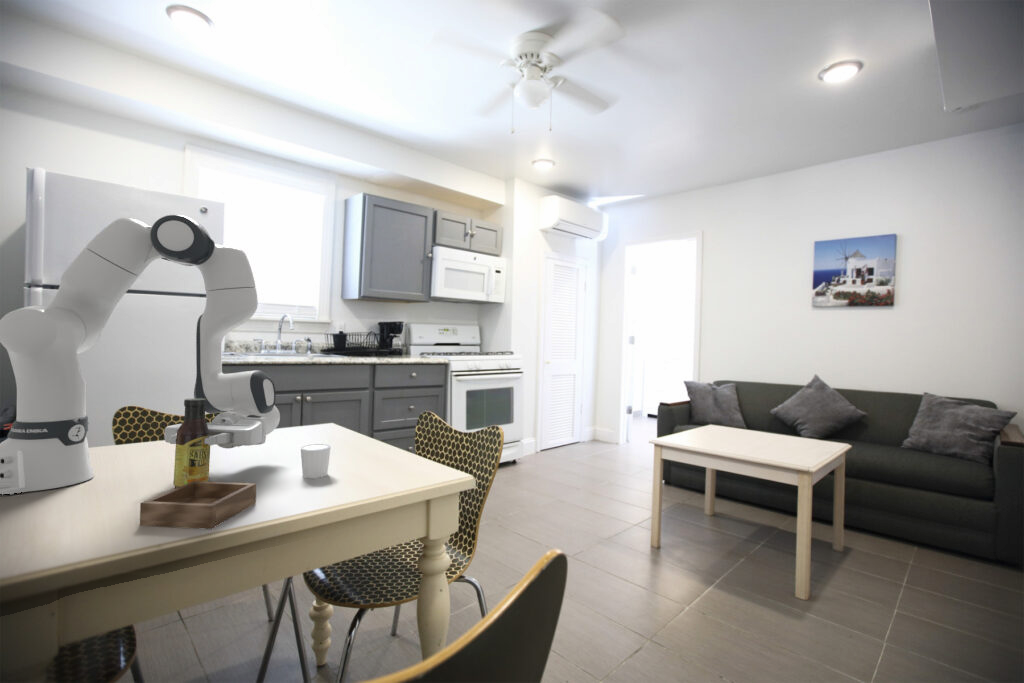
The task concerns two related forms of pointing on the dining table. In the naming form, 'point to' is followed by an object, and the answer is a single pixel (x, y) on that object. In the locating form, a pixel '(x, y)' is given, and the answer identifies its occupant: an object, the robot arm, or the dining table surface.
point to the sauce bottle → (192, 445)
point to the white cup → (315, 460)
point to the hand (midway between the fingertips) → (190, 440)
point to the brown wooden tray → (197, 505)
